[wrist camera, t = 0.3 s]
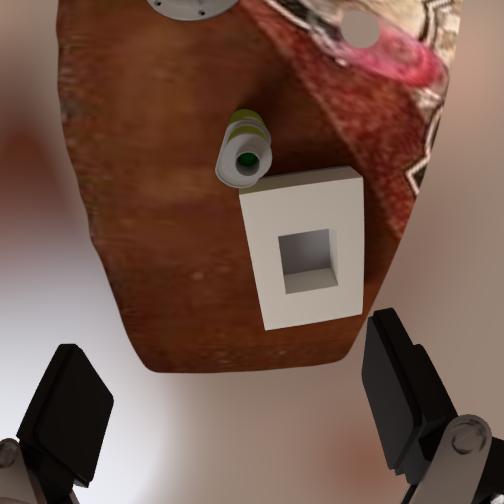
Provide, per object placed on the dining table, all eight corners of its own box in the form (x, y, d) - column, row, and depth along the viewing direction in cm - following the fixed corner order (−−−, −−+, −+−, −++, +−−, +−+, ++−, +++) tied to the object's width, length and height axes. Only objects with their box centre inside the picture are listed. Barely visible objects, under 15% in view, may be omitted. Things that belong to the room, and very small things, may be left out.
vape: (265, 113, 36) (288, 142, 18) (250, 159, 39) (257, 229, 21) (235, 104, 35) (227, 124, 18) (221, 150, 38) (201, 215, 21)
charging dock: (239, 180, 40) (239, 194, 35) (349, 165, 39) (362, 177, 34) (263, 306, 50) (265, 330, 45) (352, 292, 49) (361, 313, 44)
